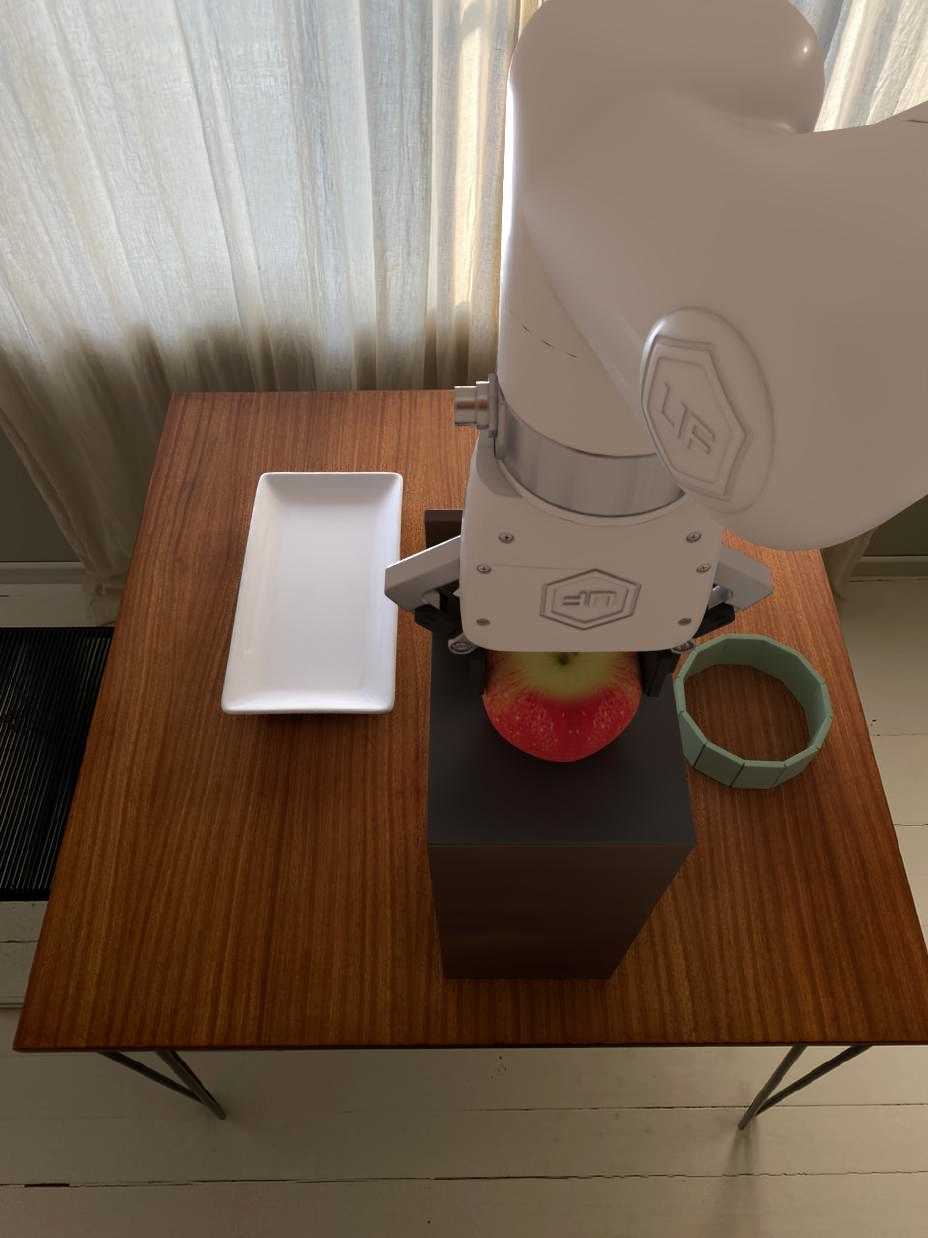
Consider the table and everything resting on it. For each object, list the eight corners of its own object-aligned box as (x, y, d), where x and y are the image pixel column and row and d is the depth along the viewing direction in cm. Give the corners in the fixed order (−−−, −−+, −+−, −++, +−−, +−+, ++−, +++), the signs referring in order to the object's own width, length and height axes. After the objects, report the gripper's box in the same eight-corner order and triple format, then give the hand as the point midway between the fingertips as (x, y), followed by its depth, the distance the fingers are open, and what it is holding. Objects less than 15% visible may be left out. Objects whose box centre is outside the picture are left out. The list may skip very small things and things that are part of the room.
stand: (610, 979, 73) (748, 761, 37) (443, 979, 73) (415, 762, 37) (596, 819, 81) (699, 507, 44) (446, 819, 81) (424, 508, 44)
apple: (486, 795, 46) (489, 707, 38) (473, 658, 51) (473, 553, 43) (639, 783, 47) (676, 694, 38) (612, 649, 51) (640, 543, 43)
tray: (406, 489, 104) (404, 468, 101) (396, 727, 86) (393, 711, 83) (264, 490, 104) (258, 470, 101) (226, 729, 86) (217, 713, 84)
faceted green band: (844, 749, 85) (863, 726, 81) (725, 813, 81) (739, 793, 77) (753, 639, 92) (767, 613, 88) (640, 694, 88) (648, 669, 84)
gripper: (343, 500, 28) (387, 739, 42) (889, 498, 28) (745, 738, 42) (359, 345, 32) (394, 611, 47) (834, 342, 32) (720, 610, 46)
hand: (561, 671), depth 44 cm, fingers closed on apple, 8 cm apart
